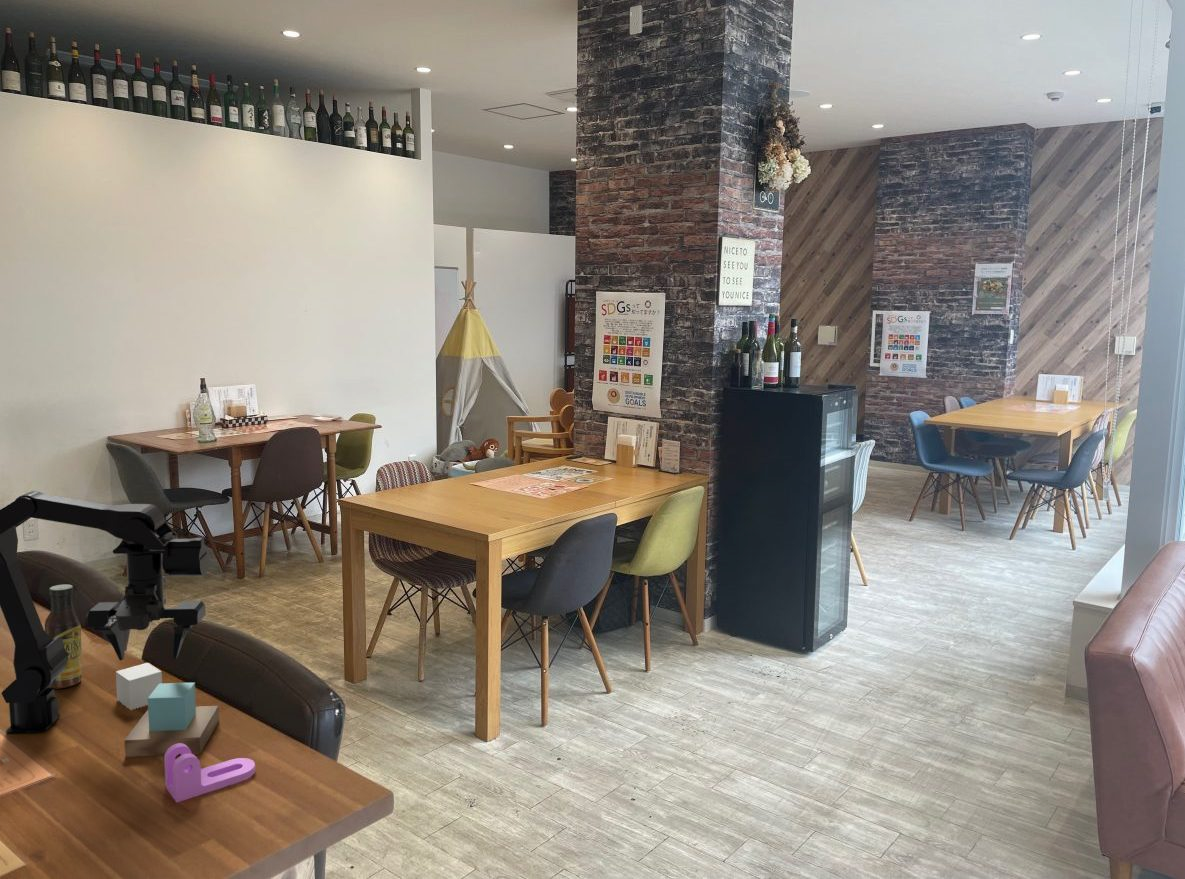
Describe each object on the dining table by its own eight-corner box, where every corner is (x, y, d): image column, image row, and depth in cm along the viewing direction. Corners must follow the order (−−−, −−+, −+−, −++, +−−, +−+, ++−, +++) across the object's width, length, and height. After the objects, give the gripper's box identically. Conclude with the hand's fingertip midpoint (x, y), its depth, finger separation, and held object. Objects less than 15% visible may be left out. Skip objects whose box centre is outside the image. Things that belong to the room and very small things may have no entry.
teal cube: (149, 731, 153) (147, 698, 152) (160, 715, 158) (159, 683, 158) (185, 729, 153) (184, 697, 153) (195, 713, 159) (194, 682, 158)
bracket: (176, 803, 137) (174, 761, 136) (165, 788, 141) (163, 747, 140) (260, 776, 146) (259, 736, 144) (247, 762, 150) (246, 723, 149)
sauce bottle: (66, 691, 173) (60, 594, 170) (38, 688, 174) (32, 591, 171) (91, 678, 179) (85, 584, 176) (64, 674, 181) (58, 581, 178)
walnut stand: (125, 756, 150) (124, 740, 149) (149, 723, 161) (149, 708, 161) (200, 753, 152) (199, 737, 151) (218, 721, 163) (218, 705, 163)
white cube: (117, 701, 170) (115, 671, 169) (149, 691, 175) (147, 662, 174) (130, 710, 166) (129, 680, 165) (163, 700, 171) (161, 671, 170)
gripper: (69, 591, 149) (74, 679, 151) (186, 589, 152) (190, 675, 154) (96, 571, 160) (100, 653, 162) (205, 570, 163) (207, 651, 165)
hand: (148, 658), depth 161 cm, fingers open, 9 cm apart
